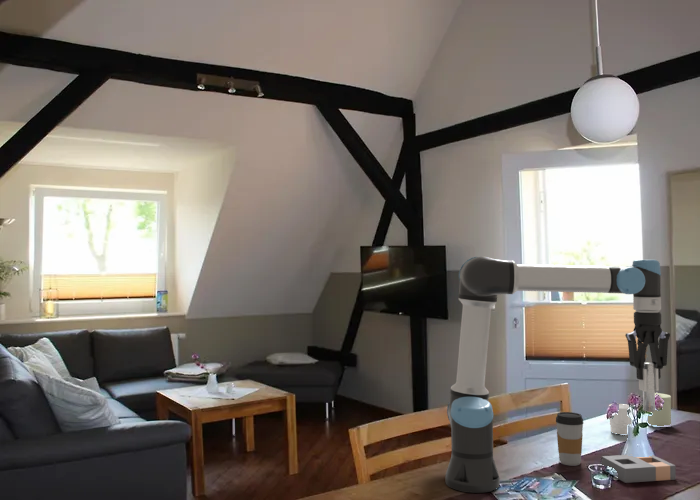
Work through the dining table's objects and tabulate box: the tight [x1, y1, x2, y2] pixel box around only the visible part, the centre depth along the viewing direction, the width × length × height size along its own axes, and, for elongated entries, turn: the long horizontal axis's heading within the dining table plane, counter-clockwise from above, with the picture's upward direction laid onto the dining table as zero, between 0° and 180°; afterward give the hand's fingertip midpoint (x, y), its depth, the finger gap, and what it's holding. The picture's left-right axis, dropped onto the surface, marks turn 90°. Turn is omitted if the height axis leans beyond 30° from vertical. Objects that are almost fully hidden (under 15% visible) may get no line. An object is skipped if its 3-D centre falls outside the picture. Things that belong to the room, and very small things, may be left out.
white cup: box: [608, 403, 633, 434], centre depth 237 cm, size 8×8×10 cm
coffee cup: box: [555, 411, 584, 466], centre depth 202 cm, size 8×8×15 cm
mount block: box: [601, 454, 677, 484], centre depth 191 cm, size 16×12×4 cm
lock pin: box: [642, 362, 656, 412], centre depth 192 cm, size 3×3×14 cm
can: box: [648, 392, 672, 426], centre depth 249 cm, size 9×9×12 cm
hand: (648, 390), depth 192 cm, fingers closed on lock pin, 3 cm apart
